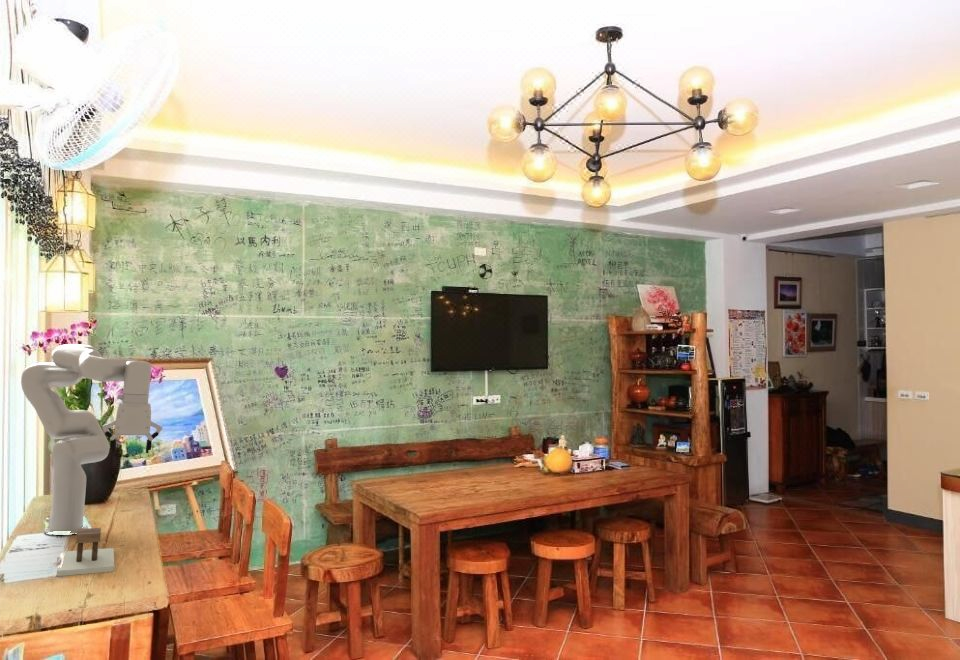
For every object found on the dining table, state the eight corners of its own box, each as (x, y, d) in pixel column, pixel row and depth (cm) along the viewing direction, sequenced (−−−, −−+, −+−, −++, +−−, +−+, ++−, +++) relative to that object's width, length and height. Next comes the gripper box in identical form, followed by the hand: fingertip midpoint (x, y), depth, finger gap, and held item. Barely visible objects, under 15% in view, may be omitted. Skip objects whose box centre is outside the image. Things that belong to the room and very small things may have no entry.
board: (60, 556, 203) (60, 551, 203) (113, 552, 210) (113, 547, 210) (56, 576, 188) (56, 570, 188) (114, 571, 194) (114, 566, 194)
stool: (75, 556, 200) (77, 529, 200) (98, 554, 203) (100, 527, 203) (74, 562, 195) (76, 534, 195) (98, 560, 198) (100, 533, 198)
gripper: (104, 399, 213) (99, 454, 212) (165, 401, 221) (160, 454, 220) (105, 396, 219) (100, 450, 219) (164, 399, 227) (159, 450, 227)
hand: (130, 452), depth 220 cm, fingers open, 9 cm apart
